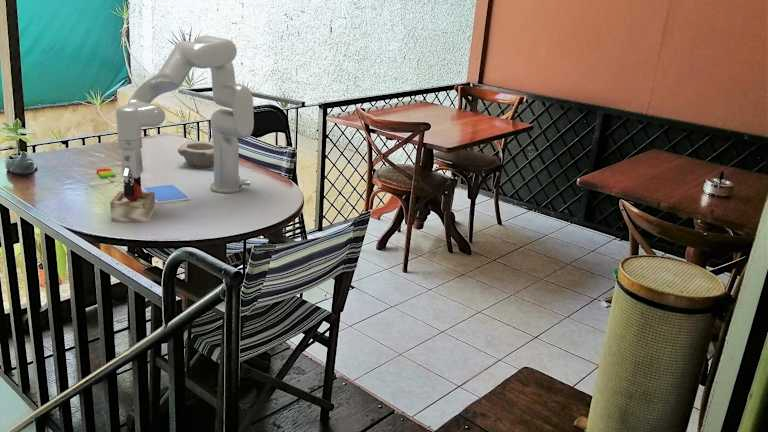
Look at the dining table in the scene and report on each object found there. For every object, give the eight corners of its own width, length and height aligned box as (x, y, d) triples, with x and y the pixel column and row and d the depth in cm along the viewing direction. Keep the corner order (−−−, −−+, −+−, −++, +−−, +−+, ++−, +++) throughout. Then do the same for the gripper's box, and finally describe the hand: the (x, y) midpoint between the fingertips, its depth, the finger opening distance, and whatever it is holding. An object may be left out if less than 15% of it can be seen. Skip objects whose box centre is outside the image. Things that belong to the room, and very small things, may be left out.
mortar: (212, 173, 291) (212, 152, 288) (174, 168, 293) (173, 147, 290) (226, 163, 307) (226, 143, 304) (190, 158, 309) (189, 139, 305)
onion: (136, 205, 233) (134, 183, 231) (121, 203, 235) (119, 181, 232) (145, 200, 239) (144, 178, 236) (130, 199, 240) (129, 177, 237)
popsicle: (110, 172, 283) (109, 168, 283) (119, 182, 272) (119, 178, 271) (96, 173, 280) (95, 169, 280) (105, 184, 269) (104, 179, 268)
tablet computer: (141, 190, 265) (141, 187, 264) (173, 186, 272) (173, 183, 271) (157, 205, 250) (157, 202, 250) (191, 201, 257) (191, 197, 257)
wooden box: (155, 210, 245) (154, 192, 242) (148, 222, 233) (147, 203, 231) (120, 209, 243) (119, 191, 241) (111, 221, 232) (110, 202, 229)
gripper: (135, 150, 222) (138, 200, 228) (147, 137, 238) (149, 184, 244) (111, 149, 221) (115, 199, 227) (124, 136, 237) (127, 183, 243)
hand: (132, 191), depth 235 cm, fingers open, 9 cm apart
